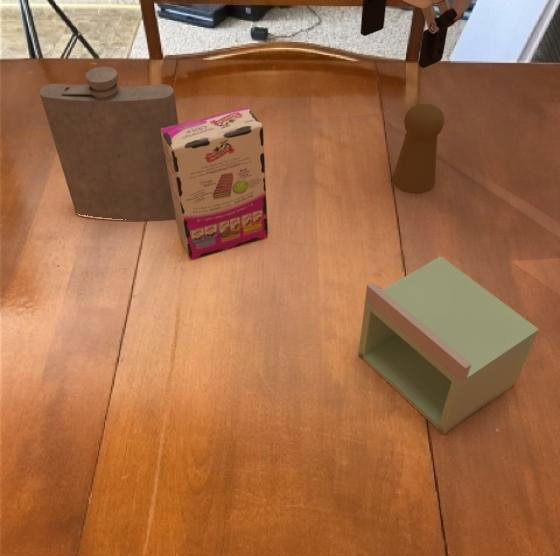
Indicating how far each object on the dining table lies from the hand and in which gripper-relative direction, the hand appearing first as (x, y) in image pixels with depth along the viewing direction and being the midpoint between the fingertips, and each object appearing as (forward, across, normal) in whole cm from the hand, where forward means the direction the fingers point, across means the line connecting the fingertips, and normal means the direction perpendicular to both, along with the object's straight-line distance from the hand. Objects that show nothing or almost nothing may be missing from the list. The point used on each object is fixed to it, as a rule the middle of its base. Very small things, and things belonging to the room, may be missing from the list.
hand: (400, 47), depth 79 cm
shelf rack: (+21, -27, +16) cm, 38 cm away
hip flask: (+21, +18, +29) cm, 41 cm away
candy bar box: (+21, +6, +22) cm, 32 cm away
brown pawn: (+21, 0, -6) cm, 22 cm away
